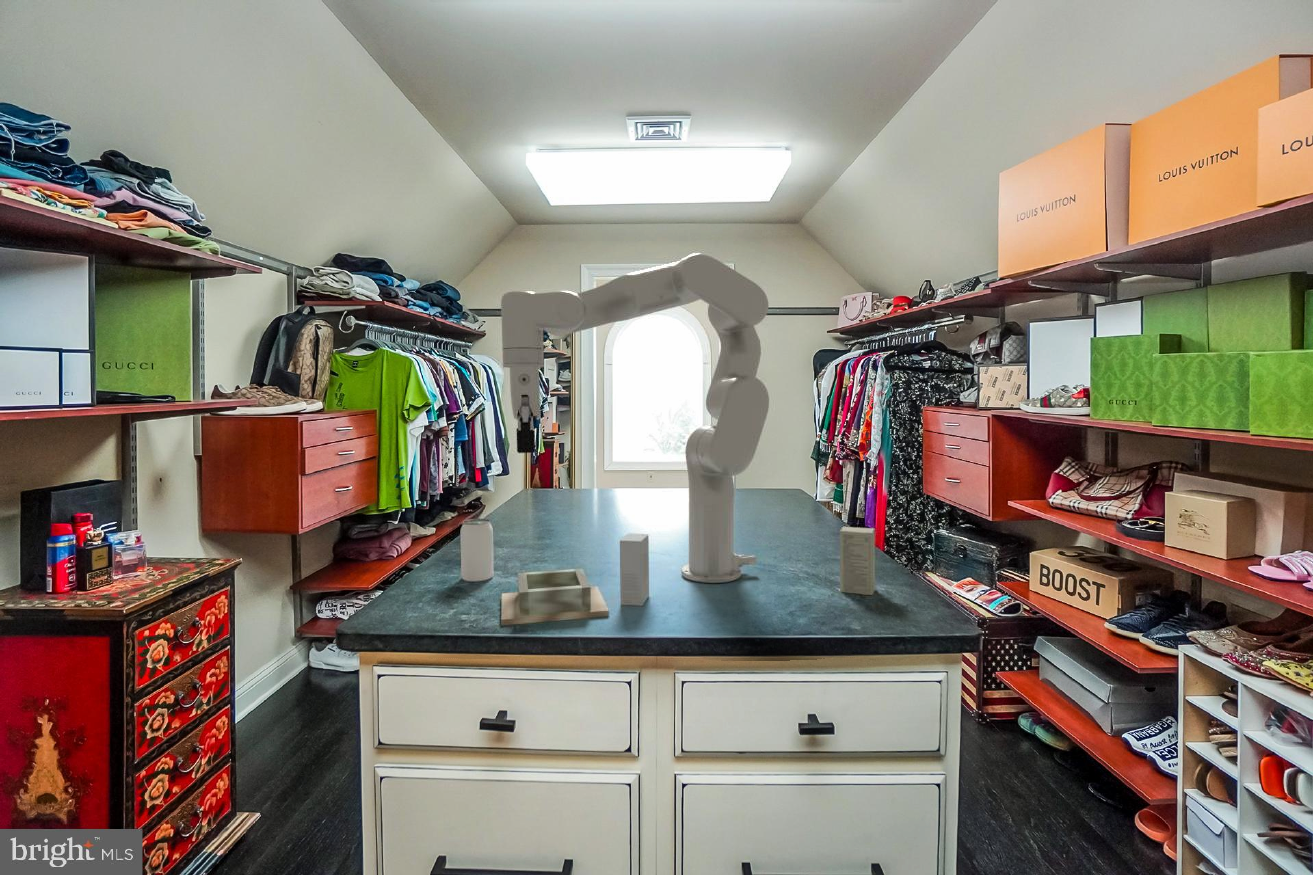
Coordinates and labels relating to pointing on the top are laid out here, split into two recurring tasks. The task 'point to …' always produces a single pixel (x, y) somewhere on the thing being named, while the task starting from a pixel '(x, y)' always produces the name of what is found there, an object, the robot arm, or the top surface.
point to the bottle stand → (552, 598)
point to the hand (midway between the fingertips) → (525, 450)
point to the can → (476, 550)
